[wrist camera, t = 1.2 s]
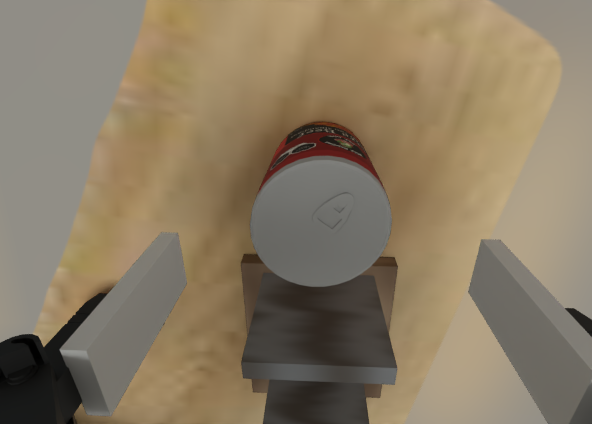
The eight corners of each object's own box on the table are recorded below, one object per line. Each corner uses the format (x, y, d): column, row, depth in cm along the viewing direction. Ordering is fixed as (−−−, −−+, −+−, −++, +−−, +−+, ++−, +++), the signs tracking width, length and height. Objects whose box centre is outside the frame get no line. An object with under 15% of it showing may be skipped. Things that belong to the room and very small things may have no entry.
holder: (255, 380, 40) (232, 497, 29) (244, 254, 32) (209, 349, 22) (377, 385, 39) (400, 508, 28) (394, 257, 32) (431, 357, 21)
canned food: (383, 141, 27) (421, 192, 17) (340, 223, 31) (351, 306, 21) (294, 103, 26) (279, 133, 16) (259, 192, 30) (230, 262, 20)
